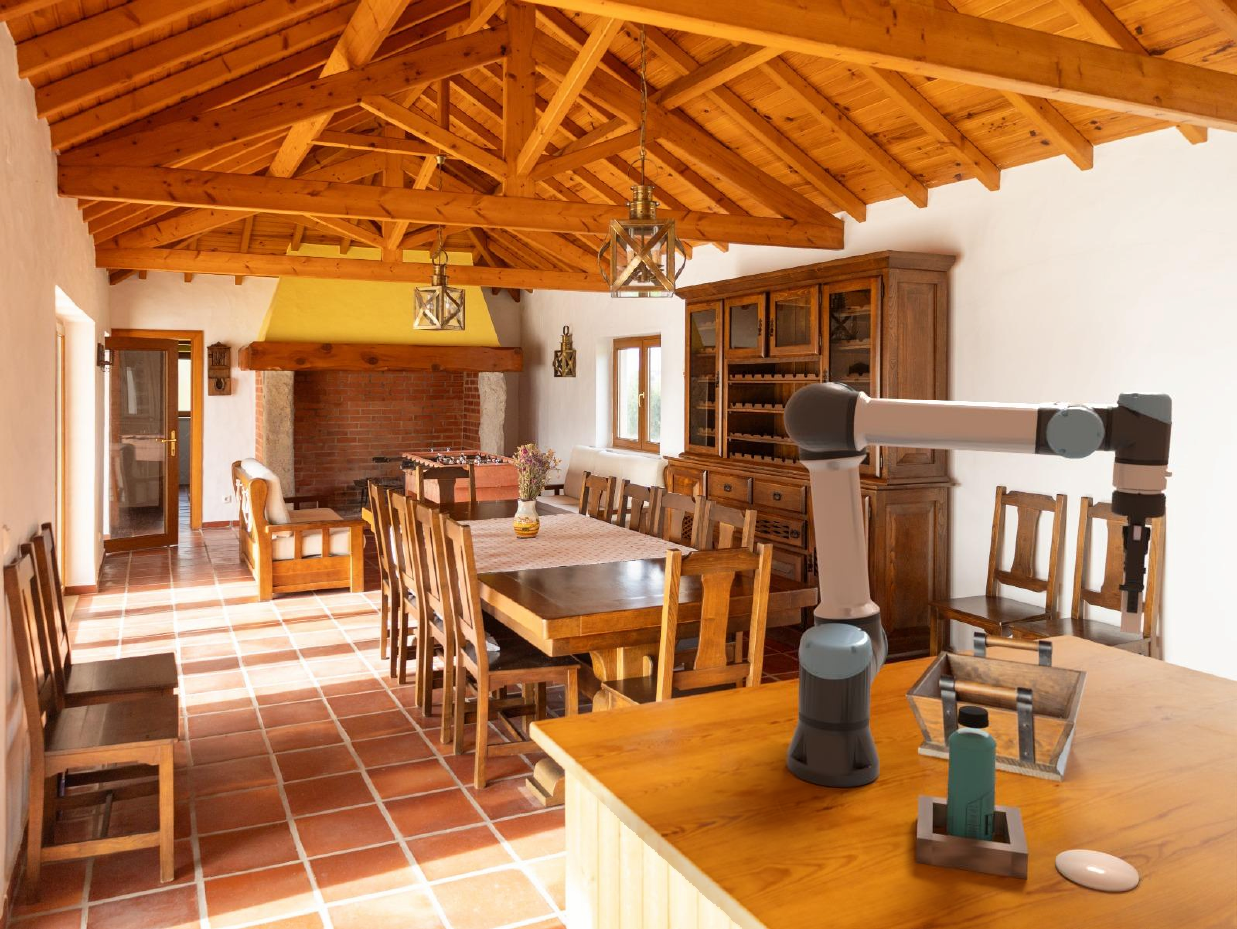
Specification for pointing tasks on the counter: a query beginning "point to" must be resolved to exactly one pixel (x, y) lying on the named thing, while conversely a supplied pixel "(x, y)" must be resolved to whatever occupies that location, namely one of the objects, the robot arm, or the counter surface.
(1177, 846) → the counter surface
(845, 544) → the robot arm
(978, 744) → the beverage bottle
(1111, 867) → the coaster
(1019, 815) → the holder
